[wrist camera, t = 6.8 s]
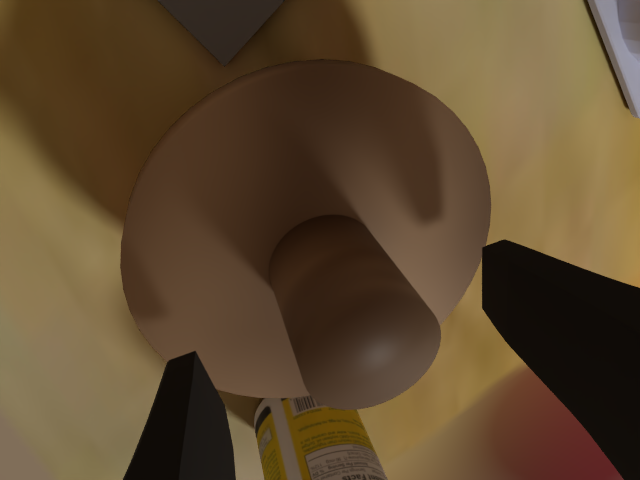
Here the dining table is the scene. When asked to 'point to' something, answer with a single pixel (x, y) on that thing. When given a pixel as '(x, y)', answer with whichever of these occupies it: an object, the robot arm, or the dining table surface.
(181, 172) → the lid
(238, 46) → the mat
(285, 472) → the supplement bottle
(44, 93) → the dining table surface
